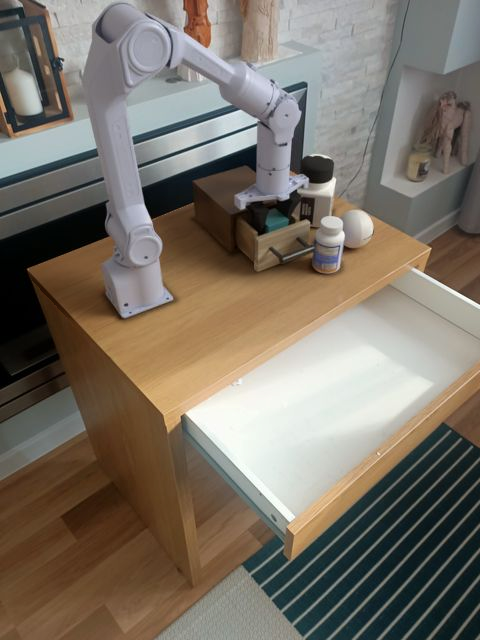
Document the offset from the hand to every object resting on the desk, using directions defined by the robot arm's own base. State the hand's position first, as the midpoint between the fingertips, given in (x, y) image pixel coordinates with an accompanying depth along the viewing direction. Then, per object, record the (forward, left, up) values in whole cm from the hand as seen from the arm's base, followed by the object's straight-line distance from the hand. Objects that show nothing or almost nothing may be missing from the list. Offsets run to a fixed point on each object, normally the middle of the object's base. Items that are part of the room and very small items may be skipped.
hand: (270, 231), depth 104 cm
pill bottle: (+7, -9, -5) cm, 12 cm away
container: (+15, +6, -5) cm, 17 cm away
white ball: (+17, -6, -5) cm, 19 cm away
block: (0, 0, -1) cm, 1 cm away
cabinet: (0, +11, -5) cm, 12 cm away
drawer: (0, 0, -4) cm, 4 cm away
